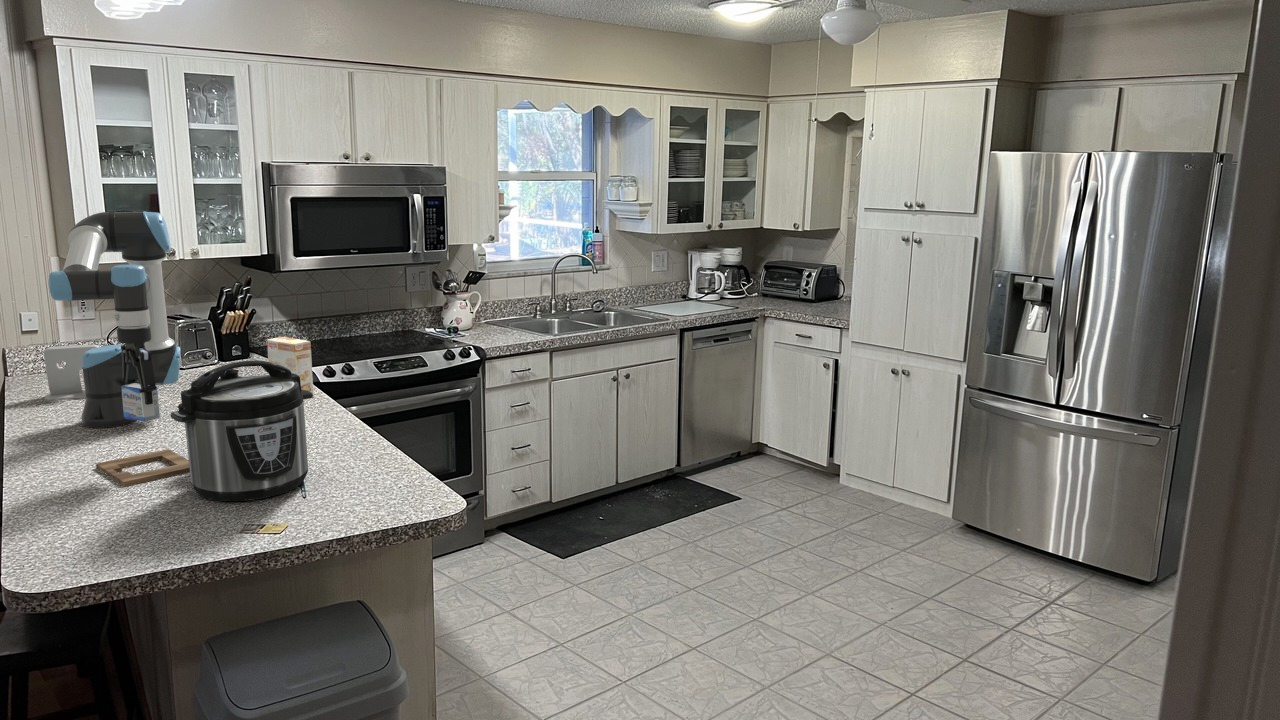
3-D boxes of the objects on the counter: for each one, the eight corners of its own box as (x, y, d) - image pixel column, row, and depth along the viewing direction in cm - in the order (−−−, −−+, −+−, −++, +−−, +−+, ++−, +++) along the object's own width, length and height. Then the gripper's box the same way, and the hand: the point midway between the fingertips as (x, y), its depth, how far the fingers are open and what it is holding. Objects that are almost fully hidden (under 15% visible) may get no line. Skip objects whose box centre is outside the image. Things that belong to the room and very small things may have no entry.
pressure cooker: (169, 511, 209) (157, 377, 202) (199, 472, 236) (188, 352, 229) (307, 503, 215) (299, 372, 209) (320, 465, 242) (313, 349, 236)
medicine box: (123, 418, 233) (120, 385, 232) (138, 414, 237) (135, 382, 236) (145, 422, 230) (142, 389, 229) (160, 417, 235) (157, 385, 233)
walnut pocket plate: (96, 468, 237) (95, 463, 237) (168, 453, 250) (168, 449, 250) (124, 486, 224) (123, 481, 224) (199, 469, 237) (198, 465, 237)
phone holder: (106, 389, 319) (100, 339, 315) (105, 396, 310) (99, 344, 306) (47, 394, 311) (41, 343, 307) (44, 401, 302) (38, 348, 298)
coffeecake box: (314, 396, 315) (311, 340, 311) (297, 400, 309) (293, 344, 305) (287, 389, 323) (283, 336, 319) (269, 393, 317) (265, 339, 313)
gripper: (102, 323, 234) (111, 407, 238) (133, 333, 219) (142, 423, 224) (133, 319, 239) (141, 402, 243) (165, 330, 225) (173, 417, 229)
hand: (141, 412), depth 234 cm, fingers closed on medicine box, 9 cm apart
